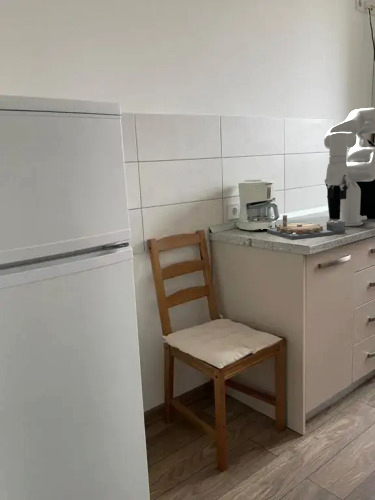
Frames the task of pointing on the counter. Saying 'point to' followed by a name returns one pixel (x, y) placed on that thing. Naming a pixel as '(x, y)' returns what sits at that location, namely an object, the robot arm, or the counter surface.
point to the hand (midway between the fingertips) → (336, 198)
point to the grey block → (336, 226)
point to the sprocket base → (299, 236)
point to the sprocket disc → (298, 227)
